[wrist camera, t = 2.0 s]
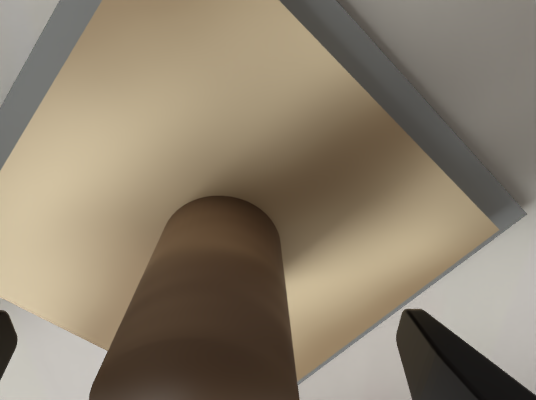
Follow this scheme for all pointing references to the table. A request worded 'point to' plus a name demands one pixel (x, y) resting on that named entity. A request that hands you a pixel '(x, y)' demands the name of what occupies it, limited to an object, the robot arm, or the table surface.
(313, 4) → the mat
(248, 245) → the lid
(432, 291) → the table surface
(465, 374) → the robot arm
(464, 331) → the table surface
